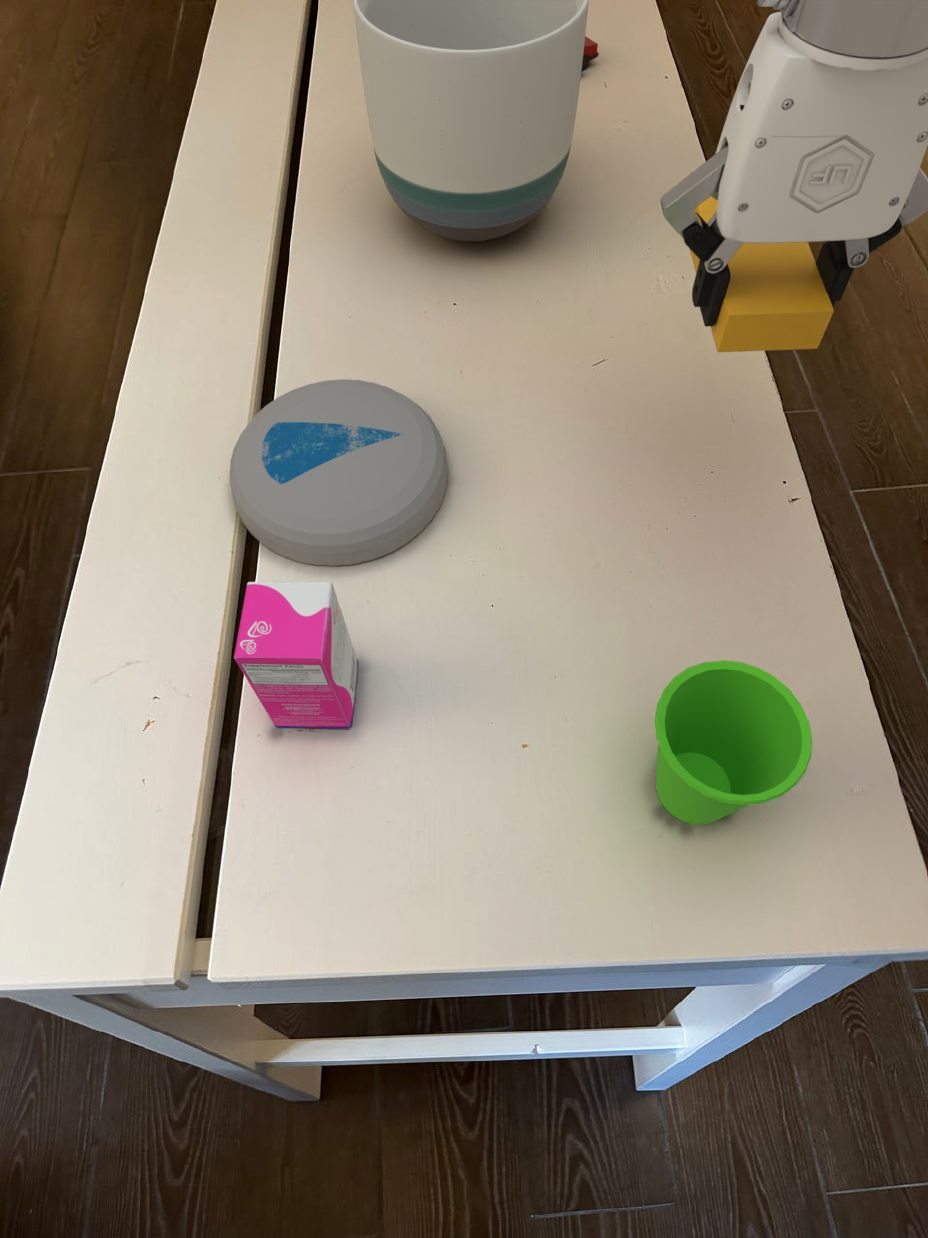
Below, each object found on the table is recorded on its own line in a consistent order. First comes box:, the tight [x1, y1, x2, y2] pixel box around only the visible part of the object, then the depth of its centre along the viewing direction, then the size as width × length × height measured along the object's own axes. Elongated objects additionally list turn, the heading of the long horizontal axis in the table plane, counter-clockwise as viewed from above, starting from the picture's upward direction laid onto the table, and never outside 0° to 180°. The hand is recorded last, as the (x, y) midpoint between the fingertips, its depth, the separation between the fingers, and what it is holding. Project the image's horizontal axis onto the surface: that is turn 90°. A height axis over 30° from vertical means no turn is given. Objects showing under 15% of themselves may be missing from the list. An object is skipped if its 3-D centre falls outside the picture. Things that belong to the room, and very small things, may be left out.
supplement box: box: [233, 581, 359, 730], centre depth 58 cm, size 6×6×12 cm
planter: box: [352, 0, 590, 242], centre depth 82 cm, size 20×20×21 cm
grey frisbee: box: [229, 379, 449, 567], centre depth 71 cm, size 18×18×5 cm
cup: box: [654, 659, 813, 826], centre depth 54 cm, size 9×9×11 cm
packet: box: [688, 171, 835, 353], centre depth 56 cm, size 14×6×3 cm, turn 2°
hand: (761, 307), depth 55 cm, fingers closed on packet, 6 cm apart
